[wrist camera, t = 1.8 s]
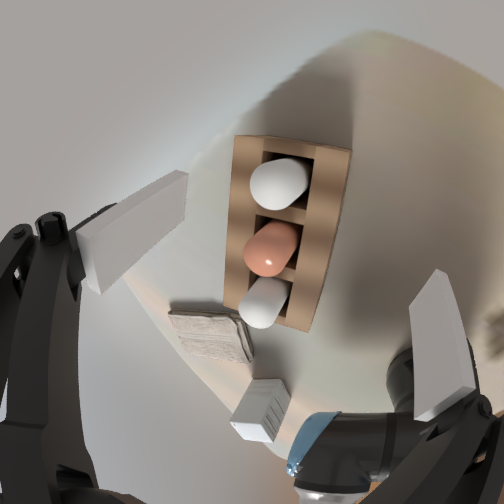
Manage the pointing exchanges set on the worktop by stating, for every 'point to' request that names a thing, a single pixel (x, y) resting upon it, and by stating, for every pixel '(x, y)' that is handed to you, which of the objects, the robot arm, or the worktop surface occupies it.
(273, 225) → the terracotta plug
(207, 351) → the washcloth
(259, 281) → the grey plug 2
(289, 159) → the grey plug
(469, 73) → the worktop surface
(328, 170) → the walnut socket block
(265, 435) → the supplement box
